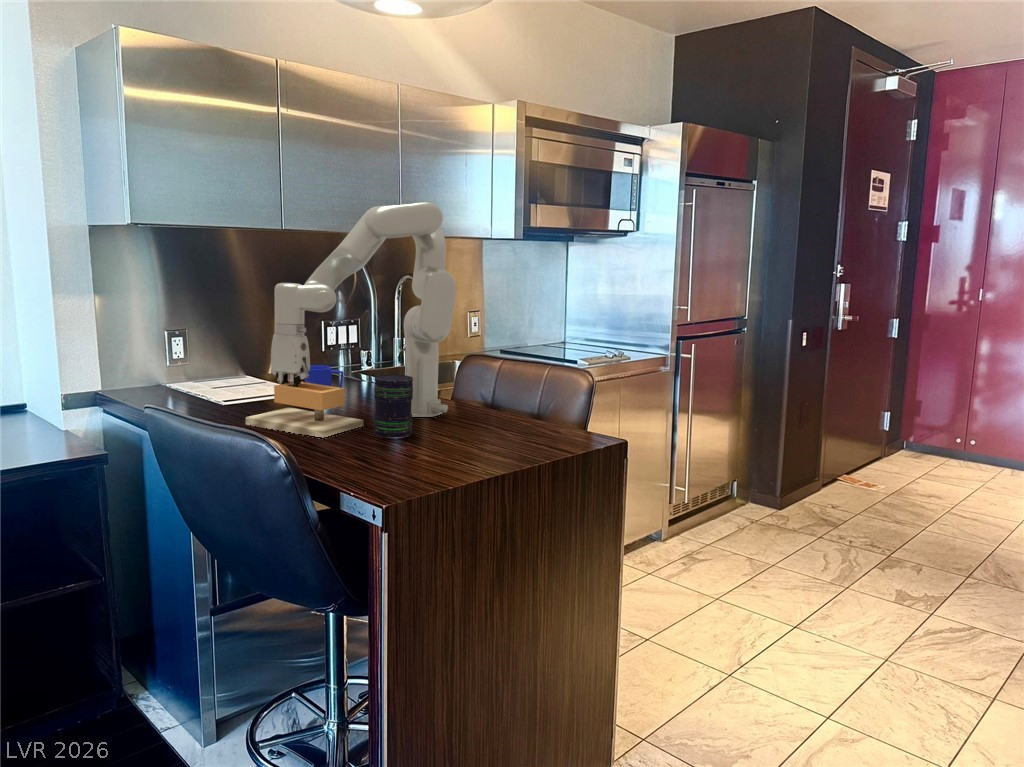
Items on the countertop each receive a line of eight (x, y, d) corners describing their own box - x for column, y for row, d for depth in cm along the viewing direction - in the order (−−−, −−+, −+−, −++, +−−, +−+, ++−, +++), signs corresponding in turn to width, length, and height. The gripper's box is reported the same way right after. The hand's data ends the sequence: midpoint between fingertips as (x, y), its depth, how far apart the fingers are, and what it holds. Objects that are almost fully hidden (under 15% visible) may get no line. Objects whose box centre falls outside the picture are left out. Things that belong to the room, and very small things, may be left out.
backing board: (363, 427, 202) (363, 420, 201) (323, 439, 187) (323, 431, 187) (288, 414, 213) (288, 407, 213) (245, 424, 199) (245, 417, 198)
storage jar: (370, 431, 198) (371, 374, 195) (407, 429, 201) (408, 374, 199) (377, 440, 189) (378, 381, 186) (416, 438, 192) (417, 380, 190)
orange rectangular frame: (344, 405, 200) (344, 388, 199) (321, 410, 192) (322, 393, 191) (298, 397, 207) (298, 381, 206) (274, 402, 199) (274, 385, 198)
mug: (339, 402, 232) (340, 370, 230) (300, 400, 232) (300, 368, 231) (346, 397, 240) (346, 366, 239) (308, 395, 240) (308, 364, 239)
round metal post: (325, 419, 199) (325, 403, 199) (319, 421, 197) (319, 404, 197) (318, 418, 201) (318, 401, 200) (312, 420, 198) (312, 403, 198)
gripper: (322, 332, 199) (322, 400, 202) (277, 326, 206) (277, 393, 209) (302, 334, 193) (302, 404, 196) (256, 328, 200) (256, 397, 203)
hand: (289, 398), depth 202 cm, fingers closed on orange rectangular frame, 2 cm apart
